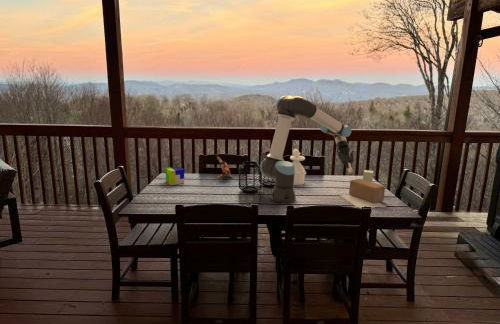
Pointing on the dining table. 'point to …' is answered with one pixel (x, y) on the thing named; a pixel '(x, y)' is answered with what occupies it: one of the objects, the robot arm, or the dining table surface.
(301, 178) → the decorative object
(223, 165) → the decorative bird
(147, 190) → the dining table surface
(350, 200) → the mat
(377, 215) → the dining table surface
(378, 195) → the wooden block
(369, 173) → the sage block
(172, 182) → the puzzle toy
